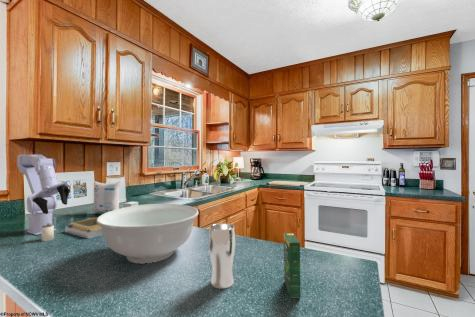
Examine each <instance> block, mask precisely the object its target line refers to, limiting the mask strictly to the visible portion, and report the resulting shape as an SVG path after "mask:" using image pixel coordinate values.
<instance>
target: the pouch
mask: <svg viewBox="0 0 475 317" xmlns="http://www.w3.org/2000/svg"><path fill="white" fill-rule="evenodd" d="M120 183H121V182H120V181H117V182H113V183H111V182H110V183H105V182H98V181H96V180H94V181H93V208H92V210H93V211H92V213H93V214H97V213H107V212H109V211H112V210H116V209H120V185H121V184H120Z"/></svg>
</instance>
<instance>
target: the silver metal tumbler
mask: <svg viewBox="0 0 475 317" xmlns="http://www.w3.org/2000/svg"><path fill="white" fill-rule="evenodd" d="M208 249H209V256H210V261H211V270H212V271H211V272H212V273H211V279H210V285H211V287H213V288H216V289H219V290H222V289H223V290H225V289H228V288H230V287H232V286H233V285H234V282H235V280H234V275H233V266H234V265H233V262H234V258H235V251H236V234H235V225H234V224H232V223H225V222H223V223H222V222H220V223H219V222H217V223H214V224H211V225H209V235H208Z"/></svg>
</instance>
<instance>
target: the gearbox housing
mask: <svg viewBox="0 0 475 317" xmlns="http://www.w3.org/2000/svg"><path fill="white" fill-rule="evenodd" d="M98 217H99V216H98ZM98 217H94V218H93V217H92V218H88V219H84V220H83V219H82V220H80V221H74V222H70V224H68V225H66V226H65V227H64V230H65V234H70V235H74V236H77V237H81V238H84V239H91V238H95V237H98V236H101V235H103V231H102V228H101V227H100V226H99V225H98V224H97V218H98Z"/></svg>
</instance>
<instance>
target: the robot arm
mask: <svg viewBox="0 0 475 317" xmlns="http://www.w3.org/2000/svg"><path fill="white" fill-rule="evenodd" d="M16 158H17V159H16V163H17V164H16V165H17V168H18V171H19V173H21V174H24V176H25V178H26V181H27V183H28V186H29V189H30V192H31V194H30V195H28V197H27V198H26V209H27V213H30V216H29V217H28V221H29V224H28V228H29V229H28V230H26V233H30V234H31V235H42V228H41V227H42V226H44V225H47V224H48V223H51V224H53V212H54V210H55V209H56V208H57V206H58V203H57V202H58V200H57V198H56V196H54V195H56V194H59V197H60V201H61V203H62V204H63V205H65V206H66V205H68V199H69V195H70V192H71V188H70V187H71V182H69V181H64V182H61V183H58V178H57V175H56V171H55V169H56V162H55V159H54V158H53V157H52V158H48V157H46V156H44V155H43V154H17V156H16ZM55 231H57V228H54V232H55Z"/></svg>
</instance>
